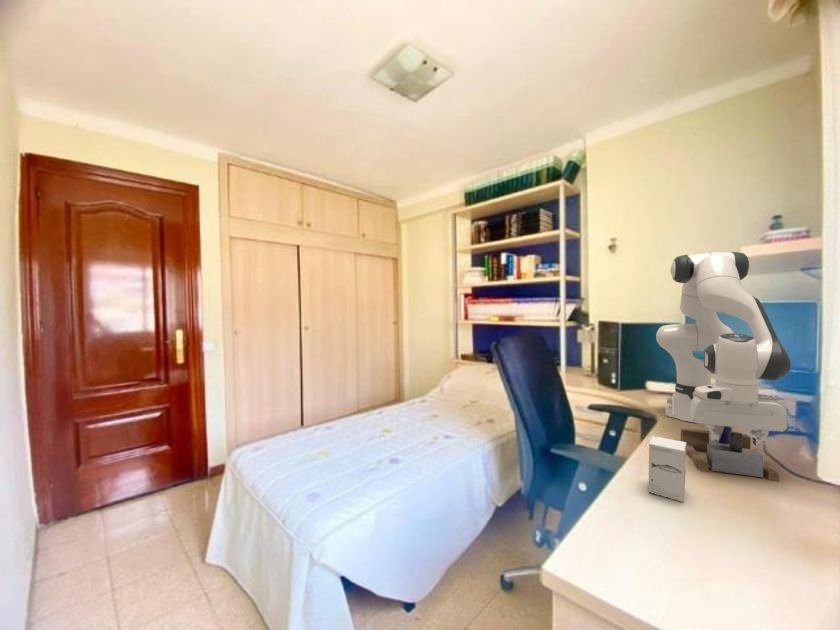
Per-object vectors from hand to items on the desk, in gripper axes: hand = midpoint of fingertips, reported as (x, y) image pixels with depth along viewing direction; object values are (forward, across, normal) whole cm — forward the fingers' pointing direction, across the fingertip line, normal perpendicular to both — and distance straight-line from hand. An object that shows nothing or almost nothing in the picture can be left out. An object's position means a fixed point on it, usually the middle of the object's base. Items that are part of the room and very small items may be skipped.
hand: (735, 442), depth 97 cm
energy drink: (+9, 0, -10) cm, 14 cm away
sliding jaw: (+9, 0, -1) cm, 9 cm away
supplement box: (+9, +20, +18) cm, 29 cm away
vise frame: (+9, 0, -8) cm, 11 cm away
